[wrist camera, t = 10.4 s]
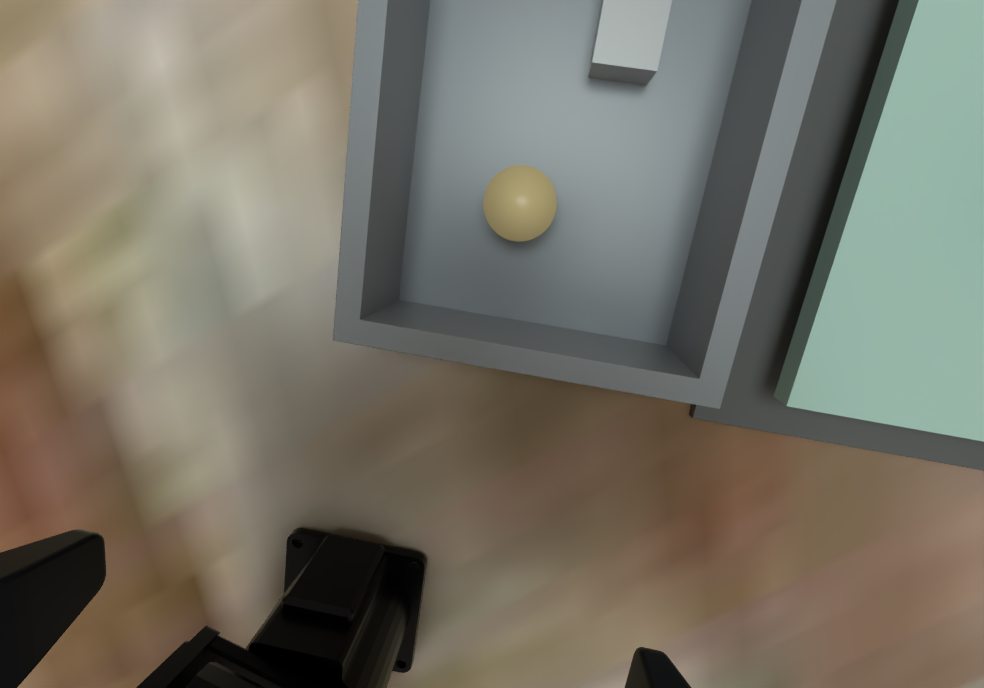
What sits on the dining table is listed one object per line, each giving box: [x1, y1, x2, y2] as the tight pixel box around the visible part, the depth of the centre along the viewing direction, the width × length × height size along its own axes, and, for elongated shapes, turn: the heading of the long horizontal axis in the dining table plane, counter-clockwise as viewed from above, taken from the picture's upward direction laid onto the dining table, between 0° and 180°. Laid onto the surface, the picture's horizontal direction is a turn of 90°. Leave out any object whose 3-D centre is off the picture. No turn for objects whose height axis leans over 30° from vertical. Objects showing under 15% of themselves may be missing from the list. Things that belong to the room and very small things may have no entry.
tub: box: [333, 0, 836, 409], centre depth 16 cm, size 16×12×5 cm
